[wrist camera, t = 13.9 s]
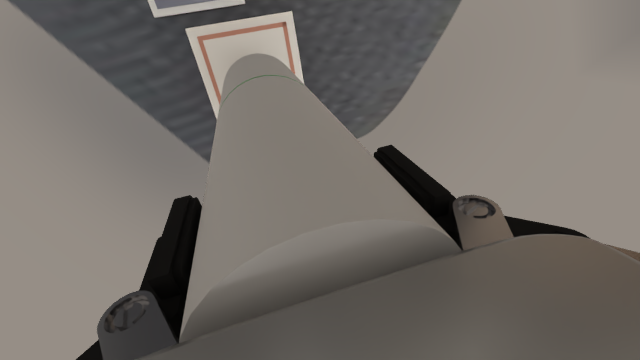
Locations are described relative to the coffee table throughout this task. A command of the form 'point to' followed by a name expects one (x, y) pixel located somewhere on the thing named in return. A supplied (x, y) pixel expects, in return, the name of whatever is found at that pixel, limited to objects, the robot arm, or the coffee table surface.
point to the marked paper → (242, 47)
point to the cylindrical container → (293, 205)
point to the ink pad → (187, 6)
